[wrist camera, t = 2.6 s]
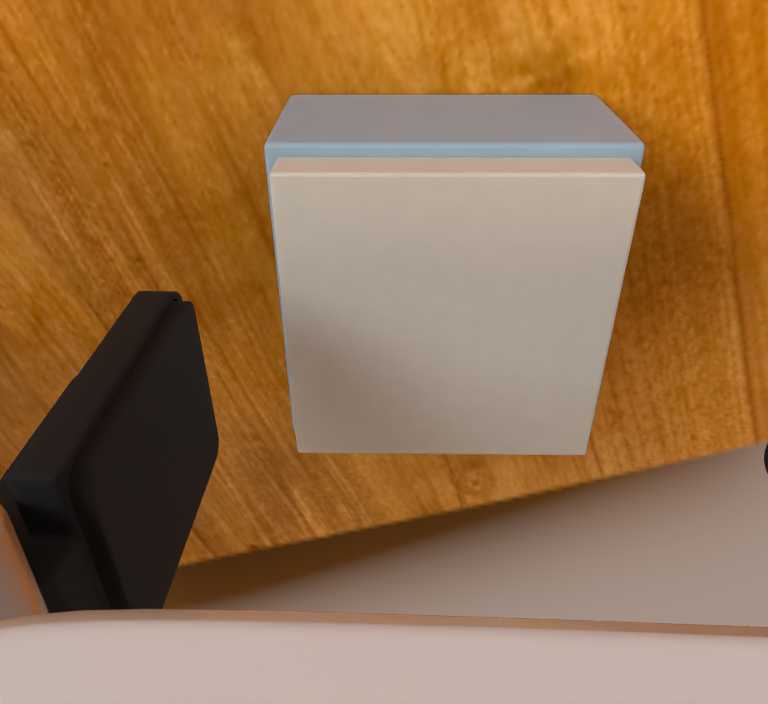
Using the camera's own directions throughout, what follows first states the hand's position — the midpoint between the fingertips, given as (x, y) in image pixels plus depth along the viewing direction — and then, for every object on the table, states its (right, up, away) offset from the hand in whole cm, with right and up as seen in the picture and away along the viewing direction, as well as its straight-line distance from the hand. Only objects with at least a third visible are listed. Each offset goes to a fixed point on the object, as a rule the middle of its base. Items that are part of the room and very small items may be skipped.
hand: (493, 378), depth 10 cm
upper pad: (0, +3, +4) cm, 5 cm away
